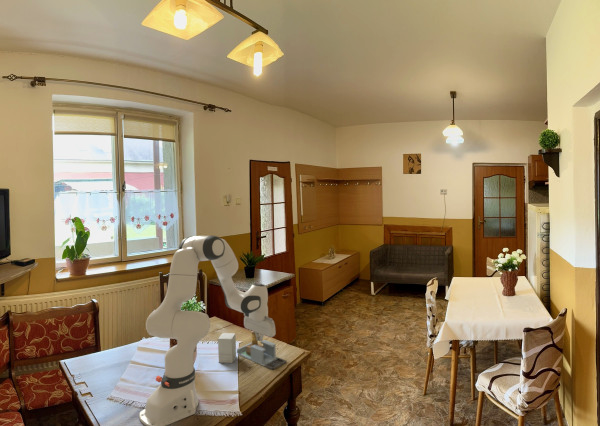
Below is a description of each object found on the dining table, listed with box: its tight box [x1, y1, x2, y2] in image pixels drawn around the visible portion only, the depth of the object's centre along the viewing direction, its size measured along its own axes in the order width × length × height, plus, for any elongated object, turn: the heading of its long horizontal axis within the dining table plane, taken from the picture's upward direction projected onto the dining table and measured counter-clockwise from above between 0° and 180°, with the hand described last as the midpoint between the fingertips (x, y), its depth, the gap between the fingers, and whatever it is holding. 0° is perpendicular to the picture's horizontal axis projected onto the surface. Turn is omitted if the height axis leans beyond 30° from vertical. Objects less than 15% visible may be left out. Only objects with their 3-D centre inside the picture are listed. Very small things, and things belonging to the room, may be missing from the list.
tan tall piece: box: [246, 331, 264, 356], centre depth 187 cm, size 6×7×11 cm
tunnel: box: [236, 339, 287, 371], centre depth 185 cm, size 10×26×7 cm, turn 50°
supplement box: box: [217, 332, 237, 364], centre depth 183 cm, size 7×7×13 cm
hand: (259, 340), depth 185 cm, fingers closed
